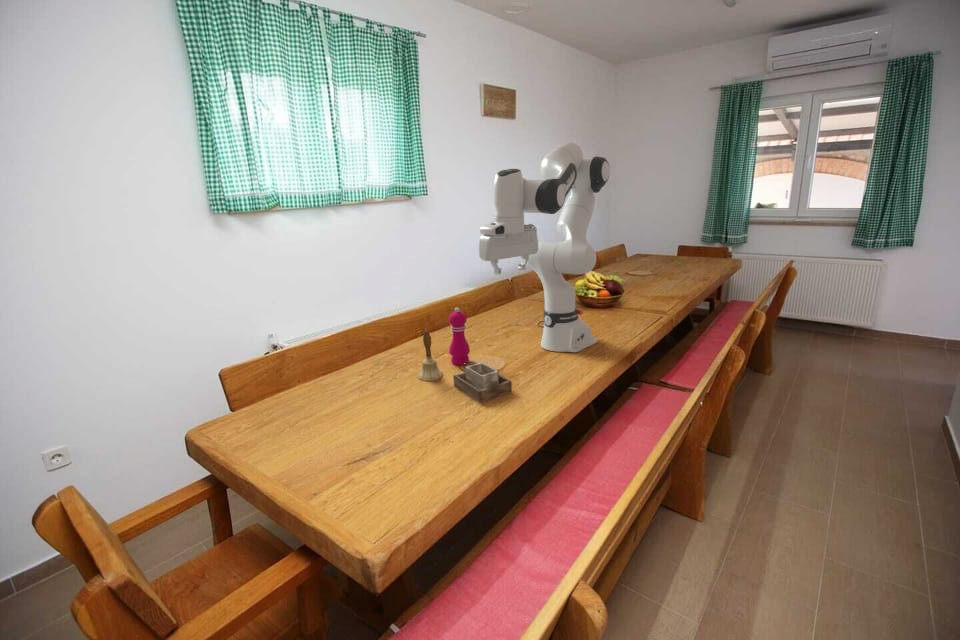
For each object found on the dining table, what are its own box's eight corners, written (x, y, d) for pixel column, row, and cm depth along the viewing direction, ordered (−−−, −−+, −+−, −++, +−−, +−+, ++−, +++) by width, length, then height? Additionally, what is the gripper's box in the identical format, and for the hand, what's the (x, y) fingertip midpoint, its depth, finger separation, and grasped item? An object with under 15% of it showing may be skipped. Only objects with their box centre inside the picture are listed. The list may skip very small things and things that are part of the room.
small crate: (482, 379, 148) (481, 362, 146) (498, 389, 141) (498, 371, 139) (466, 384, 145) (465, 366, 143) (482, 395, 138) (481, 376, 136)
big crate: (484, 376, 152) (484, 366, 151) (511, 391, 140) (511, 381, 139) (454, 385, 146) (453, 375, 145) (479, 403, 134) (479, 391, 133)
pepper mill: (467, 366, 161) (465, 310, 155) (447, 365, 162) (444, 310, 156) (472, 358, 167) (469, 305, 161) (452, 357, 169) (449, 304, 163)
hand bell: (439, 381, 150) (435, 334, 145) (414, 380, 151) (410, 334, 146) (445, 371, 157) (442, 326, 153) (422, 370, 159) (418, 326, 154)
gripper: (529, 222, 146) (529, 266, 151) (475, 228, 136) (477, 275, 140) (542, 223, 141) (542, 268, 146) (487, 230, 131) (489, 278, 135)
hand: (510, 271), depth 143 cm, fingers open, 8 cm apart
